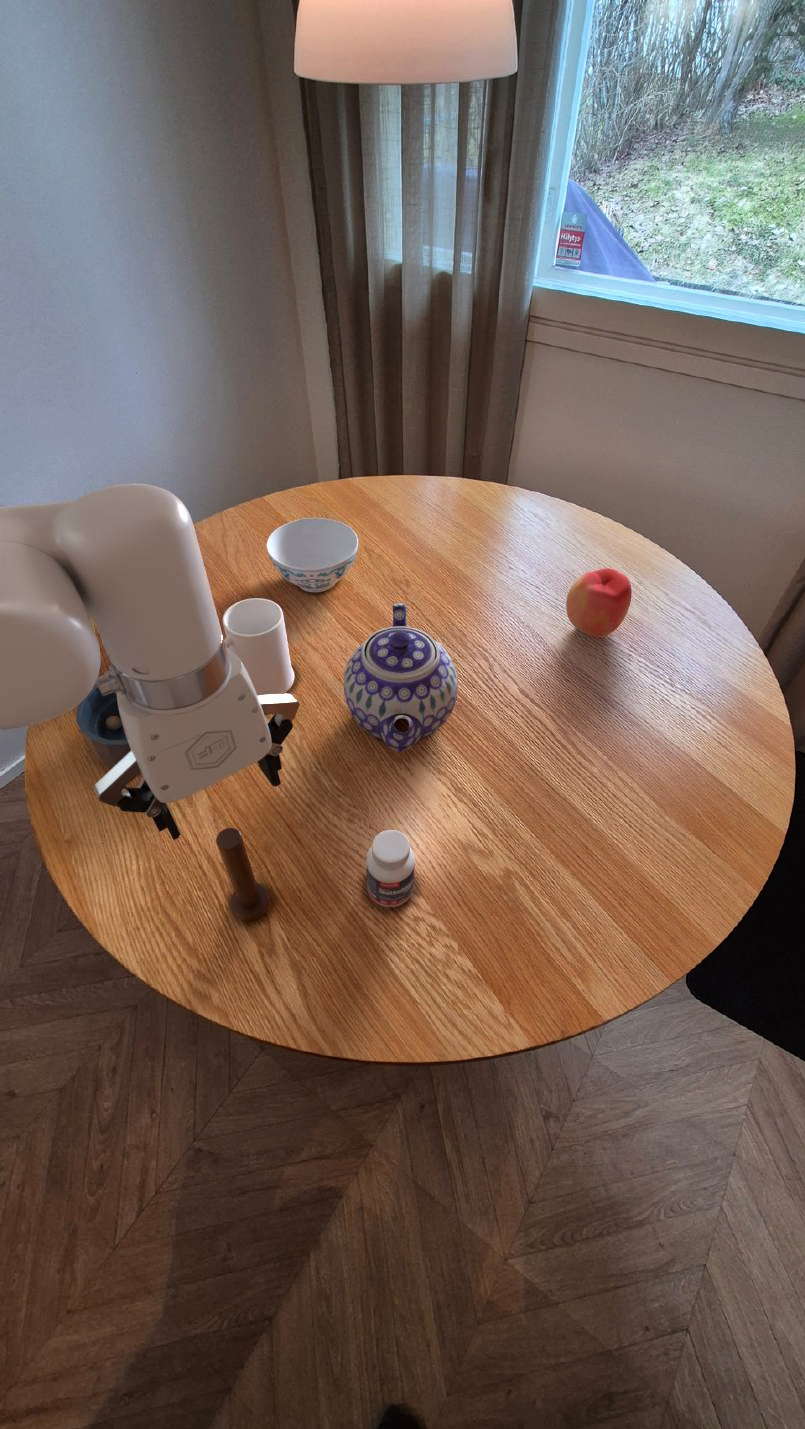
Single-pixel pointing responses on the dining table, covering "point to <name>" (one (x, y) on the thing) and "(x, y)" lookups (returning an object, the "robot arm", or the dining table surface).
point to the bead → (113, 723)
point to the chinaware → (313, 552)
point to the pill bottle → (390, 869)
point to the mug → (260, 644)
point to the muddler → (242, 877)
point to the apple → (599, 602)
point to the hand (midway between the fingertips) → (222, 800)
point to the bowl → (102, 727)
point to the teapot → (400, 683)
